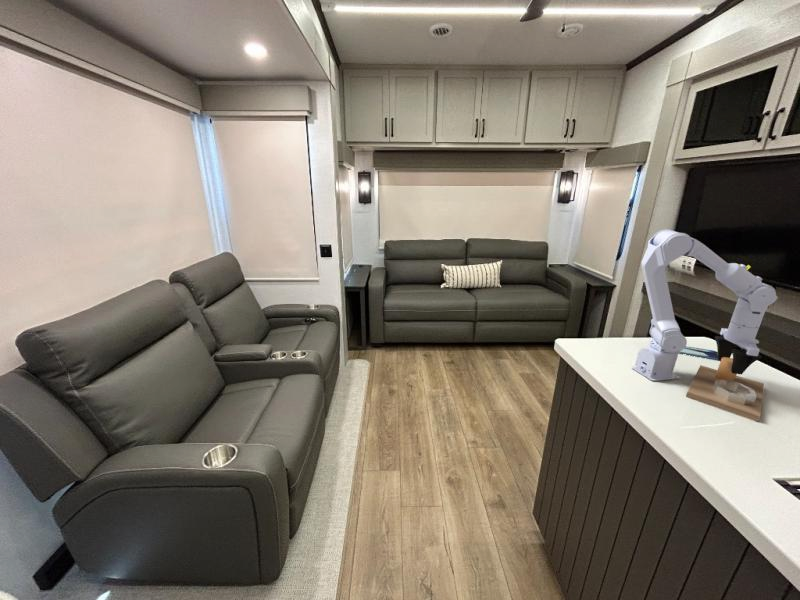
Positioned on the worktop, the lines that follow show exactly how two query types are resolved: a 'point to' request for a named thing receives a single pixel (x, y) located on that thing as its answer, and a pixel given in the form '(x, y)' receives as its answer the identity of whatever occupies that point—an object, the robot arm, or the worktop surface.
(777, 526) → the worktop surface
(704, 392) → the mount board
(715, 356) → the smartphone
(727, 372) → the orange rounded cylinder
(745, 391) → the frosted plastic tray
